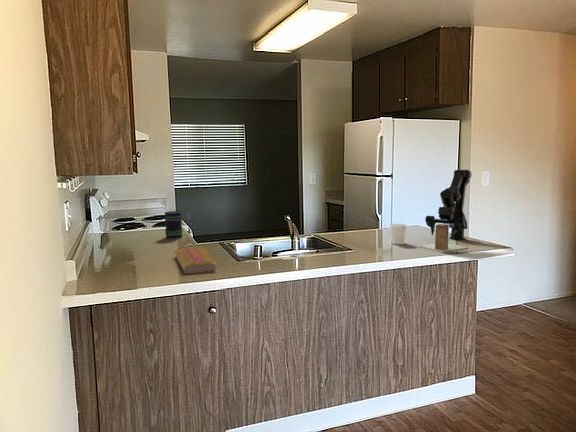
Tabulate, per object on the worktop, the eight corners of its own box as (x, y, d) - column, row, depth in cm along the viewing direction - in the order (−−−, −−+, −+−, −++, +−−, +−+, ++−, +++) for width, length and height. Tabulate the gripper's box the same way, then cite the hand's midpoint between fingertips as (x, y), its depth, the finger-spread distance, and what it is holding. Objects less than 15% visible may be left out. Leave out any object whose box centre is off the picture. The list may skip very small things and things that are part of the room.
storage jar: (162, 237, 275) (160, 212, 273) (174, 235, 283) (173, 210, 281) (174, 239, 270) (173, 213, 267) (186, 236, 278) (185, 211, 276)
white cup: (404, 241, 253) (404, 223, 252) (406, 244, 246) (407, 226, 244) (389, 241, 254) (389, 223, 253) (391, 244, 246) (391, 226, 245)
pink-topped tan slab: (174, 257, 225) (173, 245, 224) (204, 255, 230) (203, 242, 229) (183, 275, 192) (182, 261, 191) (217, 272, 197) (217, 257, 196)
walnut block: (437, 247, 236) (438, 223, 234) (447, 248, 233) (448, 224, 231) (435, 249, 231) (435, 225, 230) (445, 250, 229) (446, 226, 227)
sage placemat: (443, 242, 249) (443, 241, 249) (467, 248, 235) (467, 247, 235) (418, 246, 241) (418, 245, 241) (441, 252, 227) (441, 251, 227)
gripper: (426, 199, 238) (419, 224, 230) (465, 201, 228) (458, 227, 220) (430, 213, 245) (423, 237, 238) (467, 215, 235) (462, 240, 228)
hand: (441, 235), depth 231 cm, fingers open, 9 cm apart
